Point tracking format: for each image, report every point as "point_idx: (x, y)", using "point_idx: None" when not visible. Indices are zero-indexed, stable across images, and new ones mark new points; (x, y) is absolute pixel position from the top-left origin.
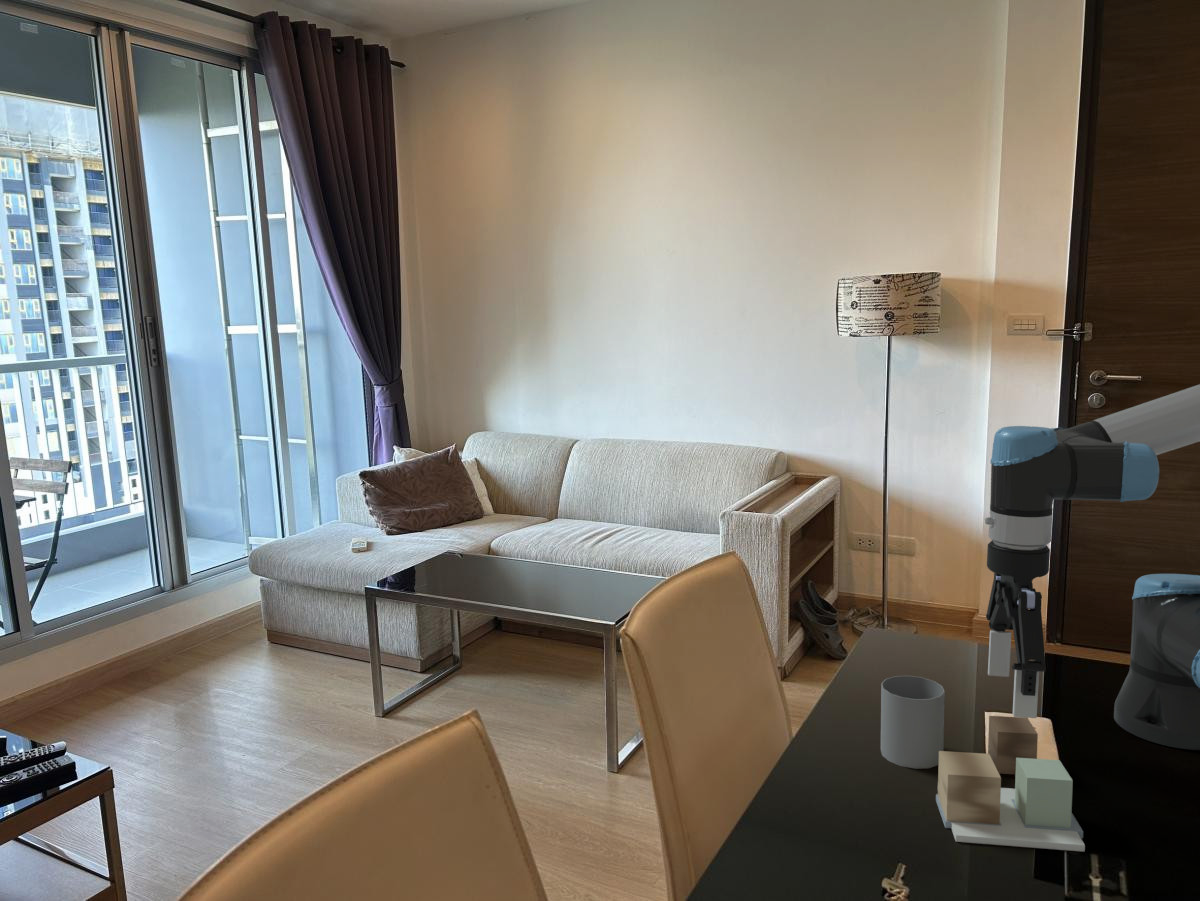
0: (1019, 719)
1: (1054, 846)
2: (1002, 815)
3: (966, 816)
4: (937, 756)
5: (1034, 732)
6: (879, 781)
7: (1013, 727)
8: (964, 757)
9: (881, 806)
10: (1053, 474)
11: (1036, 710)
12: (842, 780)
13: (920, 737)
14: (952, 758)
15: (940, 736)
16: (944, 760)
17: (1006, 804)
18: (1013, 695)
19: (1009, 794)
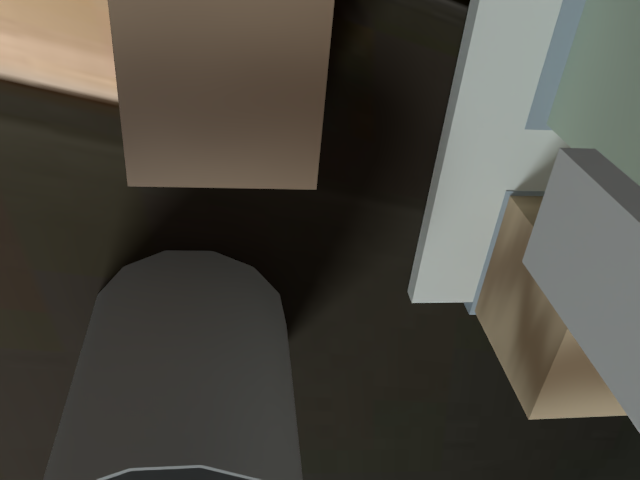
0: (144, 41)
1: None
2: None
3: None
4: (260, 292)
5: (318, 11)
6: (362, 399)
7: (259, 105)
8: (588, 364)
9: (477, 401)
10: None
11: (624, 176)
12: (358, 457)
13: (292, 393)
14: (587, 394)
15: (247, 329)
16: (593, 412)
17: (549, 150)
18: (580, 344)
19: (494, 125)
